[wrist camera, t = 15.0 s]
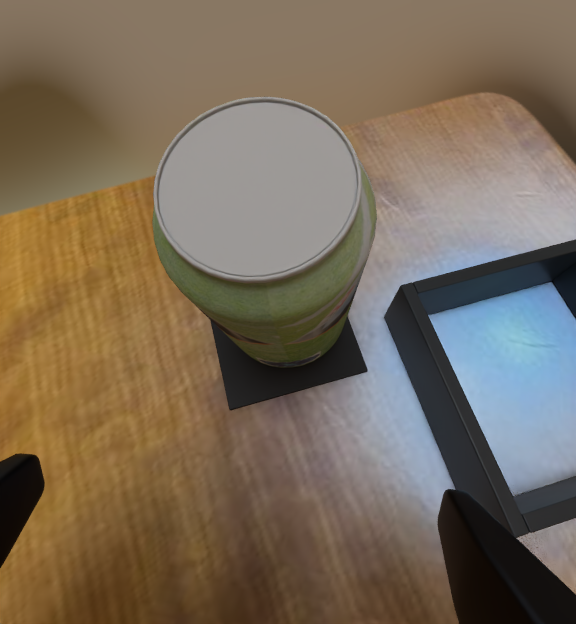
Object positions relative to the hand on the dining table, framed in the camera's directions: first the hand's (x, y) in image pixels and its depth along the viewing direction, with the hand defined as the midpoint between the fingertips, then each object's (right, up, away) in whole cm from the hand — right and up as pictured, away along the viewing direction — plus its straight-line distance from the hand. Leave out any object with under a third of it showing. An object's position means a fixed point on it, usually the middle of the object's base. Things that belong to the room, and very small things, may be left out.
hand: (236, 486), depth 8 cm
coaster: (+1, +3, +12) cm, 12 cm away
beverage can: (+1, +3, +12) cm, 12 cm away
